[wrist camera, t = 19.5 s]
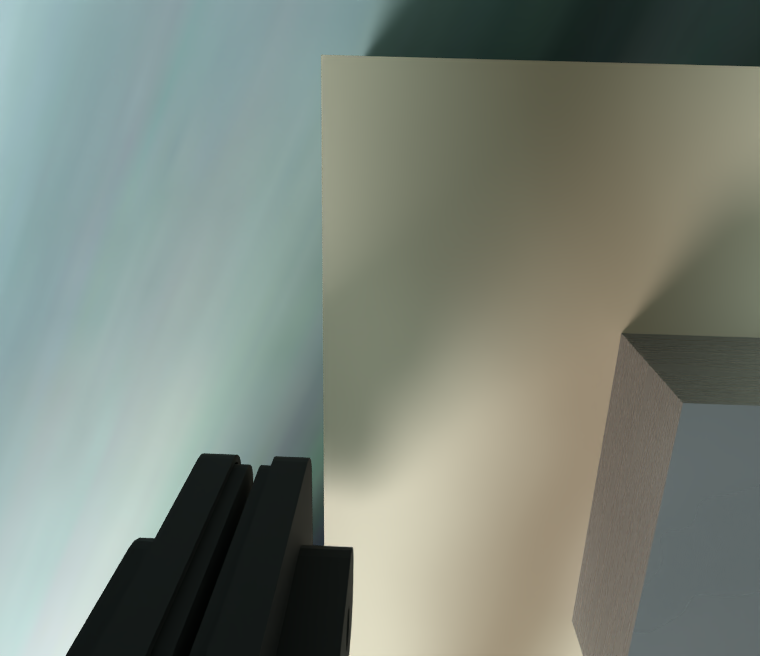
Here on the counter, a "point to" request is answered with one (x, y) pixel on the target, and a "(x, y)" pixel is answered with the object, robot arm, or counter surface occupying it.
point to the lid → (543, 355)
